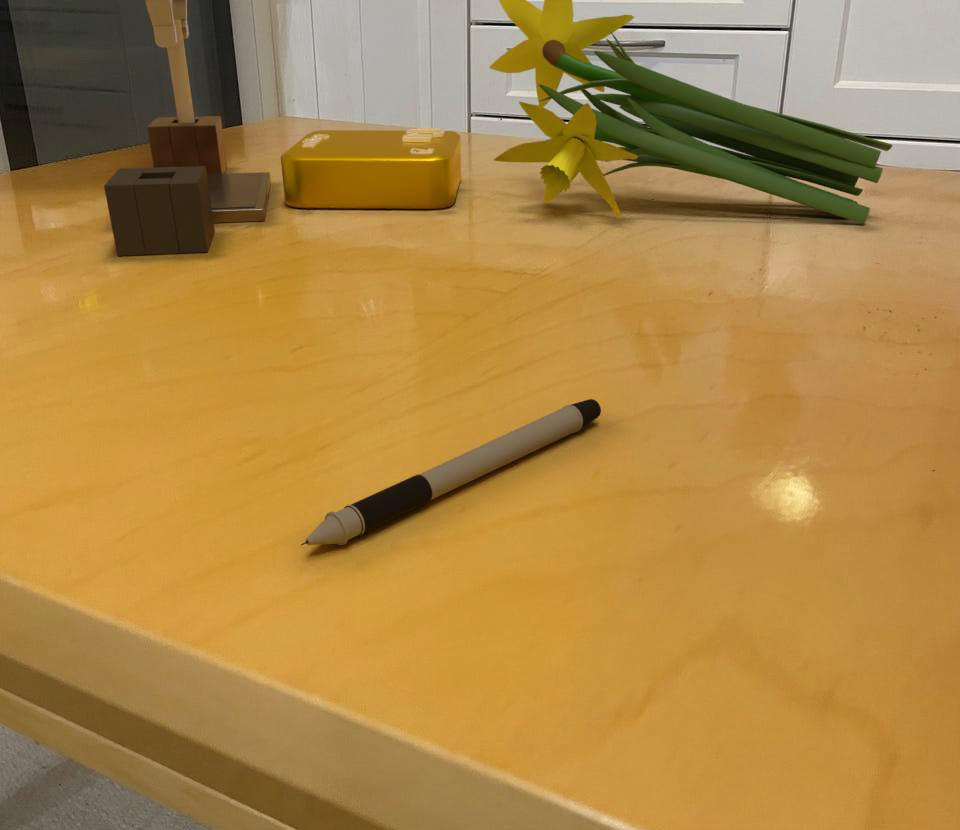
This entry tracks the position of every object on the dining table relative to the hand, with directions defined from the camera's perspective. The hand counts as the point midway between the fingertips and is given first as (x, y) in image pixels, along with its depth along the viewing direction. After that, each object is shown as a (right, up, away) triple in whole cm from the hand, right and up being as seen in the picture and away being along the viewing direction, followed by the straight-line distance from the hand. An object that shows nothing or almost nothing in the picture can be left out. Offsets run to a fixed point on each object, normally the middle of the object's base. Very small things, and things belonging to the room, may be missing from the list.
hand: (173, 43), depth 90 cm
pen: (+29, -43, -51) cm, 72 cm away
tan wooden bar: (0, -10, +6) cm, 12 cm away
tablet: (+4, -17, -6) cm, 19 cm away
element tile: (+20, -15, -2) cm, 25 cm away
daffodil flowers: (+46, -18, -8) cm, 50 cm away
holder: (+5, -24, -18) cm, 30 cm away
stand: (0, -10, +6) cm, 12 cm away
